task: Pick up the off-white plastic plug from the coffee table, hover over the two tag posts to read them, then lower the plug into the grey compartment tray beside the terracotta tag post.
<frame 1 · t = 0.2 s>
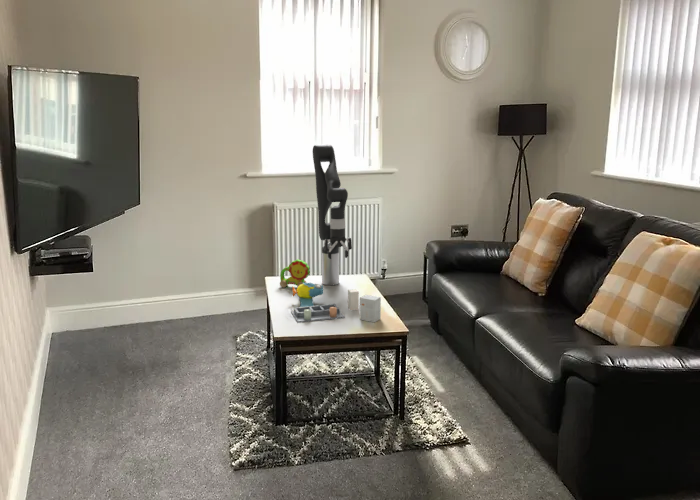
hand: (338, 258, 322), 17 cm above the table, tool pointing down, fingers open, 8 cm apart
grey compartment tray: (316, 313, 290), on the table
plug: (353, 308, 298), on the table
small box: (370, 319, 284), on the table
blue yellow plastic figure: (308, 299, 307), point 1 cm above the table, touching grey compartment tray
toy lion: (295, 287, 331), on the table
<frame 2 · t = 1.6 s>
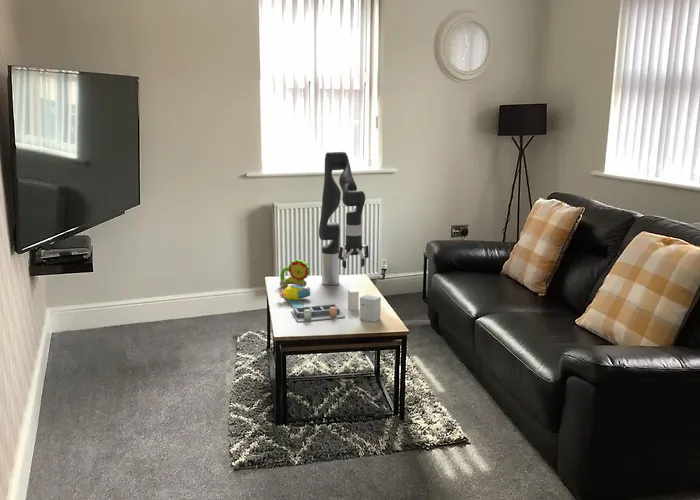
hand: (353, 267, 293), 20 cm above the table, tool pointing down, fingers open, 8 cm apart
blue yellow plastic figure: (294, 301, 310), on the table
everything else where it was.
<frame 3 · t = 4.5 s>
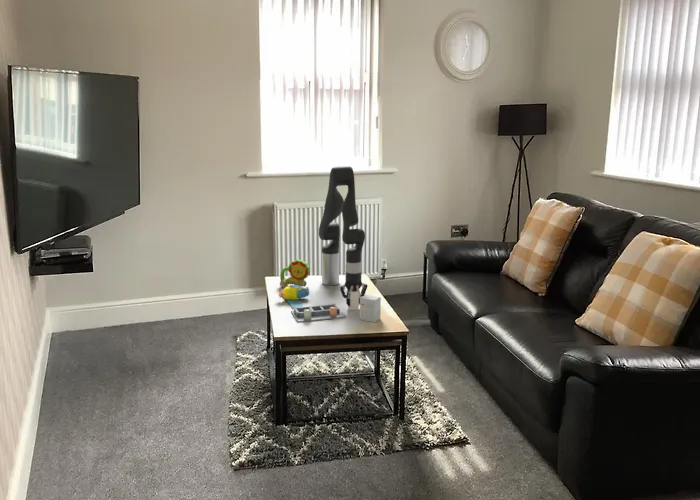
hand: (353, 305, 297), 2 cm above the table, tool pointing down, fingers closed on plug, 4 cm apart
plug: (353, 308, 298), on the table, touching gripper
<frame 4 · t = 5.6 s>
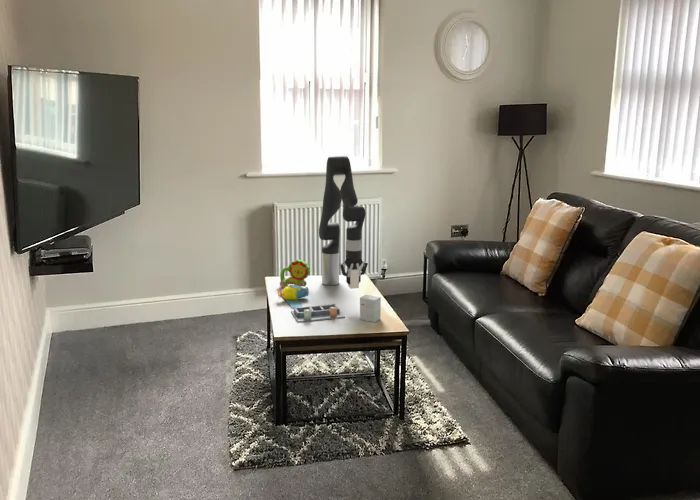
hand: (353, 283, 295), 13 cm above the table, tool pointing down, fingers closed on plug, 4 cm apart
plug: (353, 287, 295), point 11 cm above the table, touching gripper
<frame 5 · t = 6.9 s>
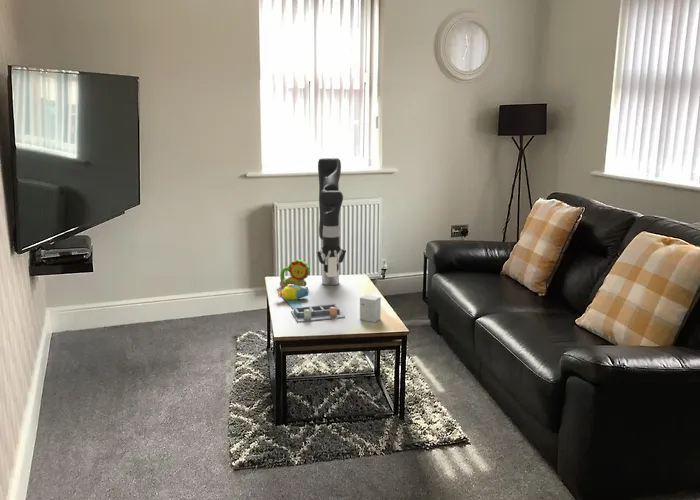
hand: (331, 271, 284), 21 cm above the table, tool pointing down, fingers closed on plug, 4 cm apart
plug: (331, 275, 285), point 19 cm above the table, touching gripper
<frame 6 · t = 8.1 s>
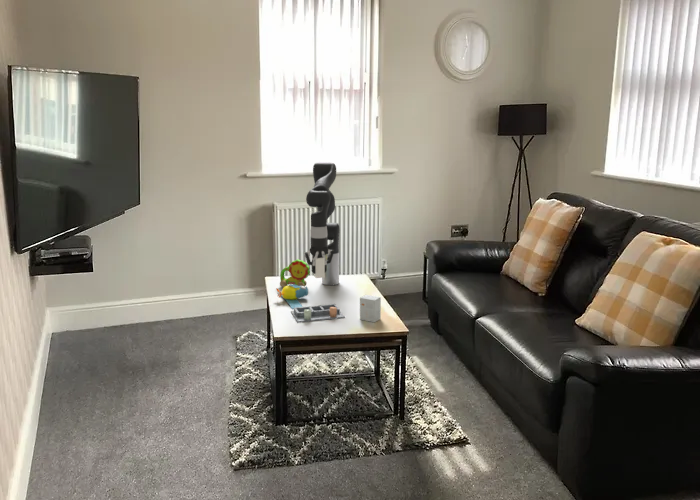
hand: (319, 272, 281), 21 cm above the table, tool pointing down, fingers closed on plug, 4 cm apart
plug: (319, 276, 281), point 19 cm above the table, touching gripper
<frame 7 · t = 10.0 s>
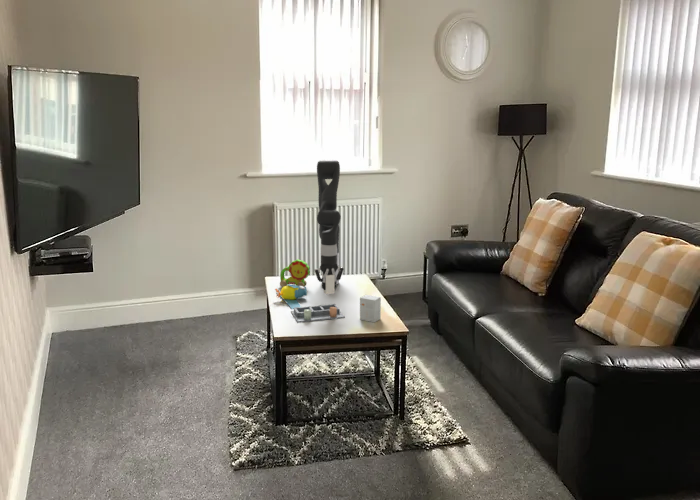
hand: (329, 289, 289), 11 cm above the table, tool pointing down, fingers closed on plug, 4 cm apart
plug: (329, 292, 290), point 10 cm above the table, touching gripper
when the fingers open (4 cm above the table, at t = 12.1 s): plug drops 1 cm, resting on grey compartment tray.
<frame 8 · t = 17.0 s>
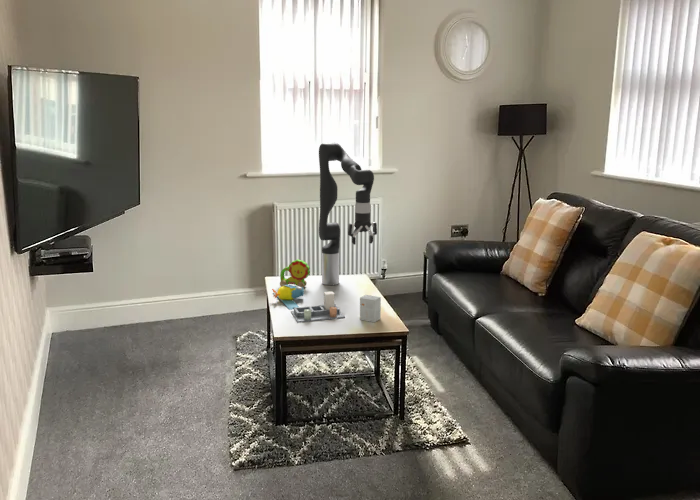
hand: (362, 243, 307), 28 cm above the table, tool pointing down, fingers open, 8 cm apart
plug: (329, 311, 292), point 1 cm above the table, touching grey compartment tray
blue yellow plastic figure: (288, 301, 310), on the table
everything else where it was.
at the end: plug 0.0 cm from the target spot on the grey compartment tray, point 0.6 cm above the grey compartment tray's base; plug tilted 0°; the gripper is holding nothing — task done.
